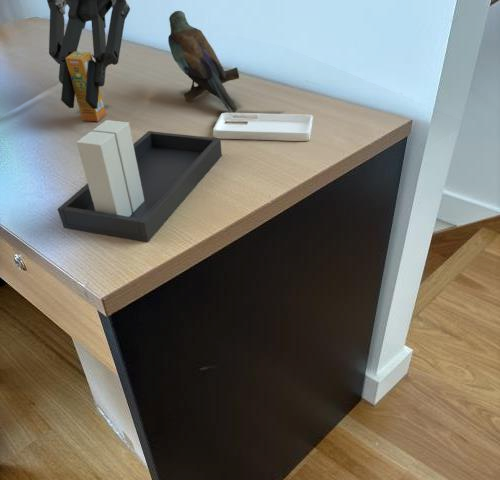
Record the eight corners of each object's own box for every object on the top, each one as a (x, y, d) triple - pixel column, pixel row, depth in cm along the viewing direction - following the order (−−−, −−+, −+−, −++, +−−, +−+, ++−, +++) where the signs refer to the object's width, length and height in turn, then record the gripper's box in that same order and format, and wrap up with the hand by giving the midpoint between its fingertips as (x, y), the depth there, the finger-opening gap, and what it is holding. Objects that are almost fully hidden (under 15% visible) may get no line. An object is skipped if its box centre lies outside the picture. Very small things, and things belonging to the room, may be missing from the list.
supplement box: (80, 121, 87) (62, 56, 80) (90, 113, 89) (74, 50, 82) (98, 122, 86) (81, 57, 79) (107, 114, 88) (92, 51, 82)
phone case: (213, 138, 80) (309, 141, 78) (212, 130, 79) (309, 132, 77) (222, 120, 85) (312, 122, 83) (221, 112, 84) (313, 114, 82)
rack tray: (63, 227, 62) (57, 208, 60) (151, 147, 78) (148, 130, 76) (148, 242, 59) (144, 222, 57) (221, 155, 75) (220, 138, 73)
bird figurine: (265, 104, 87) (228, -24, 82) (214, 118, 84) (171, -14, 79) (236, 123, 99) (202, 13, 94) (190, 137, 96) (152, 23, 91)
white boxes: (98, 223, 62) (75, 141, 55) (124, 197, 66) (106, 119, 59) (120, 226, 61) (100, 144, 54) (144, 201, 65) (129, 122, 58)
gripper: (32, -56, 80) (18, 92, 80) (132, -58, 78) (118, 94, 78) (57, -22, 88) (44, 113, 87) (148, -23, 85) (136, 116, 85)
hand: (79, 104), depth 82 cm, fingers closed on supplement box, 3 cm apart
